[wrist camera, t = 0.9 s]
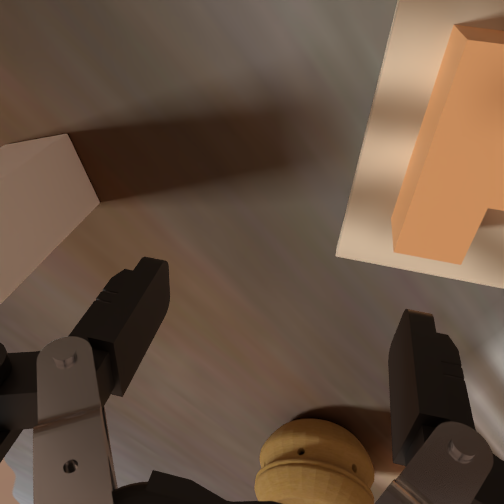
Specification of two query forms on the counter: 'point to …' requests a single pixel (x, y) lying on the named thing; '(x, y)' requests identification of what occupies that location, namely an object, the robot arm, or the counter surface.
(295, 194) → the counter surface
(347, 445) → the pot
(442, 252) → the t block
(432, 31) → the push board
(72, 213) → the milk
